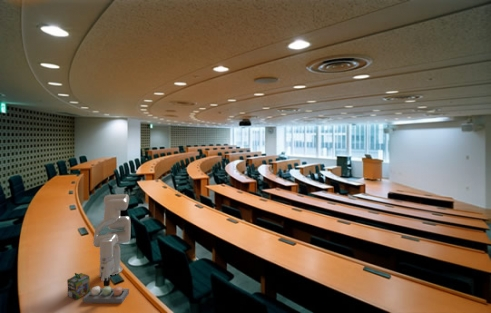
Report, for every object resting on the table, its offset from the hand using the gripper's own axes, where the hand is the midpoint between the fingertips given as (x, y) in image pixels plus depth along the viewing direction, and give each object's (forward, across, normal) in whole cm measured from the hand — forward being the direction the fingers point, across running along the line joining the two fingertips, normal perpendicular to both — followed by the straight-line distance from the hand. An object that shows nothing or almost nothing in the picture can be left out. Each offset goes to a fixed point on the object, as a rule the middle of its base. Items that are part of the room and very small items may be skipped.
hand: (106, 285), depth 155 cm
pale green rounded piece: (+6, 0, 0) cm, 6 cm away
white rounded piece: (+6, 0, +7) cm, 9 cm away
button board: (+9, 0, 0) cm, 9 cm away
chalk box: (+9, +4, +20) cm, 22 cm away
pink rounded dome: (+6, 0, -7) cm, 9 cm away
